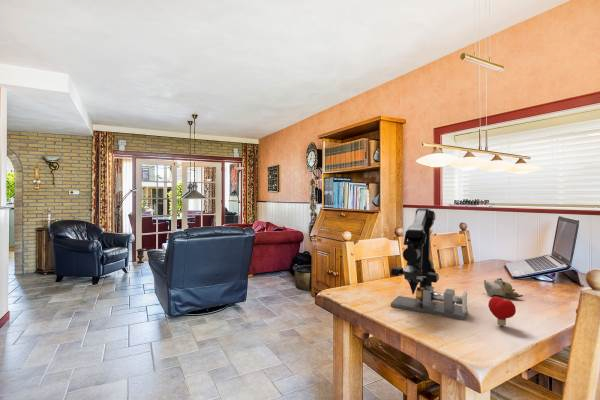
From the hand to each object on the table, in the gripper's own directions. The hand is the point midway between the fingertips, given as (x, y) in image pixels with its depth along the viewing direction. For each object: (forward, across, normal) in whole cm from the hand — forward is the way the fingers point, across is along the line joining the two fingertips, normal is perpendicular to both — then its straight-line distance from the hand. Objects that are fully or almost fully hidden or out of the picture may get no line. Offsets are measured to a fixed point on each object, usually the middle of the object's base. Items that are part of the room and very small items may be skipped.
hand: (413, 294), depth 139 cm
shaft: (+2, +10, 0) cm, 11 cm away
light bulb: (+4, +32, -5) cm, 33 cm away
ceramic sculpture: (+4, +32, +37) cm, 49 cm away
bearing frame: (+5, +6, 0) cm, 8 cm away
